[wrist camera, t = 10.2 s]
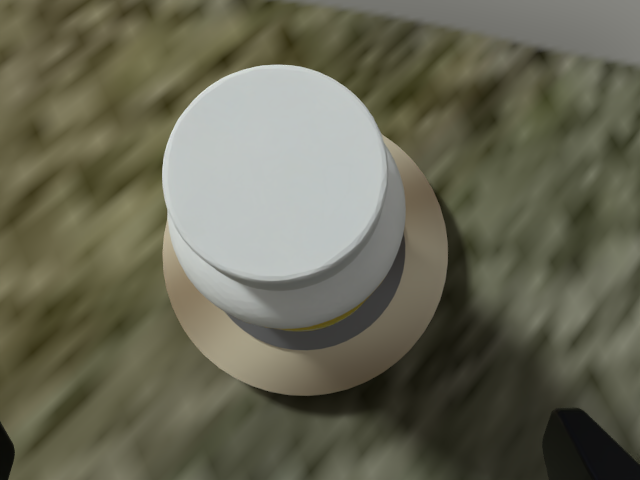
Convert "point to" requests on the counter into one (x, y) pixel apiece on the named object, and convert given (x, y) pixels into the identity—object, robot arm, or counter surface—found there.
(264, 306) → the supplement bottle
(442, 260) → the round plate
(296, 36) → the counter surface
